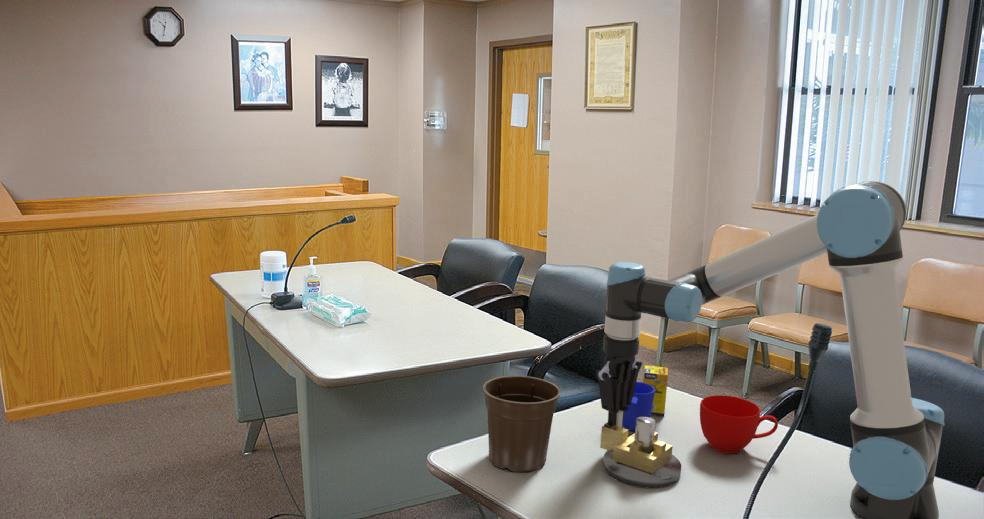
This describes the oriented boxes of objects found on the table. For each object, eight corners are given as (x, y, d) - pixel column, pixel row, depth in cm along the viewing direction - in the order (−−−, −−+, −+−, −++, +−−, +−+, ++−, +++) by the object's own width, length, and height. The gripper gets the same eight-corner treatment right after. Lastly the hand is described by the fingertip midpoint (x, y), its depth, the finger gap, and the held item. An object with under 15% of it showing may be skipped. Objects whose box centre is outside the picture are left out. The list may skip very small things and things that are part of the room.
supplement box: (664, 417, 192) (668, 375, 190) (640, 414, 194) (643, 372, 191) (664, 408, 198) (668, 367, 196) (640, 405, 199) (643, 364, 197)
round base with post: (693, 468, 165) (697, 420, 163) (659, 496, 153) (664, 444, 151) (626, 446, 175) (629, 399, 173) (589, 470, 163) (592, 421, 160)
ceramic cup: (776, 467, 168) (781, 423, 166) (695, 454, 172) (699, 412, 170) (772, 442, 180) (777, 402, 178) (697, 431, 184) (701, 391, 182)
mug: (611, 437, 179) (615, 396, 177) (619, 418, 191) (622, 379, 189) (648, 443, 177) (651, 401, 175) (653, 423, 188) (656, 384, 186)
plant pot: (527, 437, 177) (531, 370, 174) (571, 466, 164) (576, 394, 161) (465, 452, 169) (468, 381, 165) (507, 484, 155) (511, 408, 152)
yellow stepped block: (671, 458, 164) (673, 434, 163) (652, 473, 157) (654, 448, 156) (612, 439, 173) (614, 416, 172) (592, 452, 166) (593, 429, 165)
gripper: (627, 325, 172) (619, 424, 177) (588, 336, 164) (581, 439, 169) (654, 333, 167) (646, 435, 172) (615, 345, 158) (608, 452, 164)
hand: (614, 437), depth 171 cm, fingers closed
